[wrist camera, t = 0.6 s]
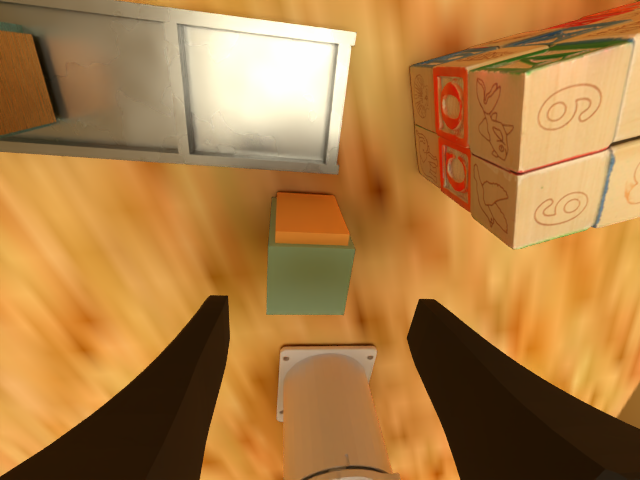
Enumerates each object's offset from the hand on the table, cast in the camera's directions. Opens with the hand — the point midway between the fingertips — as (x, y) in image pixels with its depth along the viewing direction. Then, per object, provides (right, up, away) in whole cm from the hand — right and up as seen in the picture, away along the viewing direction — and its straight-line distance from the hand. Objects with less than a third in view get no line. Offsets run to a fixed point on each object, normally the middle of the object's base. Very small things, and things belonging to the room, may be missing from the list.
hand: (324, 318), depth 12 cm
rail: (-9, +11, +4) cm, 14 cm away
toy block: (-1, +4, +9) cm, 9 cm away
